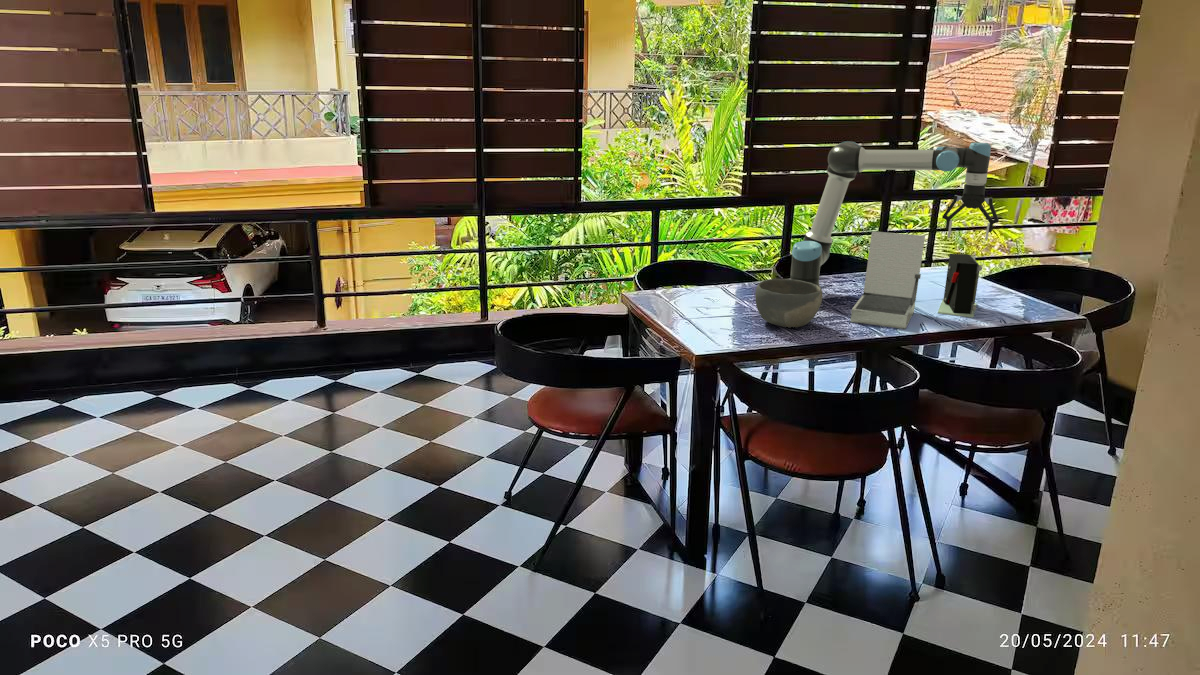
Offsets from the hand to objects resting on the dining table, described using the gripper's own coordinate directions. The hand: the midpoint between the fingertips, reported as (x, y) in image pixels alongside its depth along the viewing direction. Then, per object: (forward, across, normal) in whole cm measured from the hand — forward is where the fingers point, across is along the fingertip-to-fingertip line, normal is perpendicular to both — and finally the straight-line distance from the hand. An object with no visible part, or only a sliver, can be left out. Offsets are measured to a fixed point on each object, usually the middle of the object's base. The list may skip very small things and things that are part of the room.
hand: (967, 238), depth 330 cm
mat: (+29, 0, 0) cm, 29 cm away
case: (+29, -25, -23) cm, 44 cm away
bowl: (+29, -56, -53) cm, 82 cm away
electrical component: (+28, 0, 0) cm, 28 cm away
